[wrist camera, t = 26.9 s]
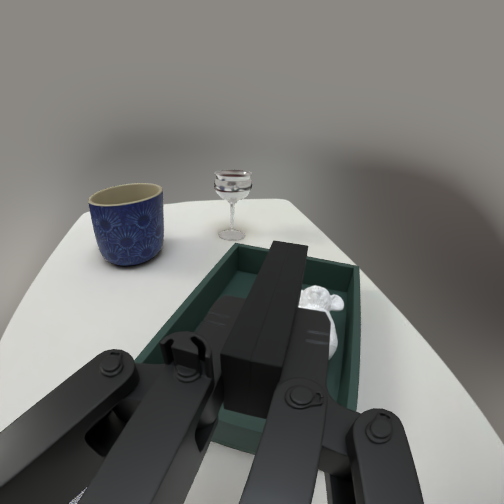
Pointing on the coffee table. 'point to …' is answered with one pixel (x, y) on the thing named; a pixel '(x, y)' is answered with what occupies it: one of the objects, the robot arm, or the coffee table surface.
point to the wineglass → (232, 194)
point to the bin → (239, 285)
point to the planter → (128, 222)
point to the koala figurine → (322, 308)
